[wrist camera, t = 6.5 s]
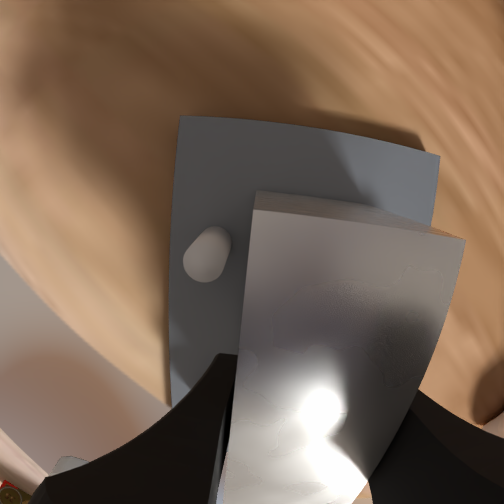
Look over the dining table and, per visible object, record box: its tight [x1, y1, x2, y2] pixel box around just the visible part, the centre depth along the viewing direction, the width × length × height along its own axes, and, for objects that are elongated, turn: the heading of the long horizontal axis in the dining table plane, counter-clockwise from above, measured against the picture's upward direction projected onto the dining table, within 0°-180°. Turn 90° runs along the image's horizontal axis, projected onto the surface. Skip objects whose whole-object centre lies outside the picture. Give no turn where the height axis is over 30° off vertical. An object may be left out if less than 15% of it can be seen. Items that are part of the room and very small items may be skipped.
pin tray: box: [169, 116, 440, 452], centre depth 11 cm, size 10×16×4 cm, turn 174°
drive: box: [223, 190, 466, 504], centre depth 9 cm, size 4×10×6 cm, turn 174°
